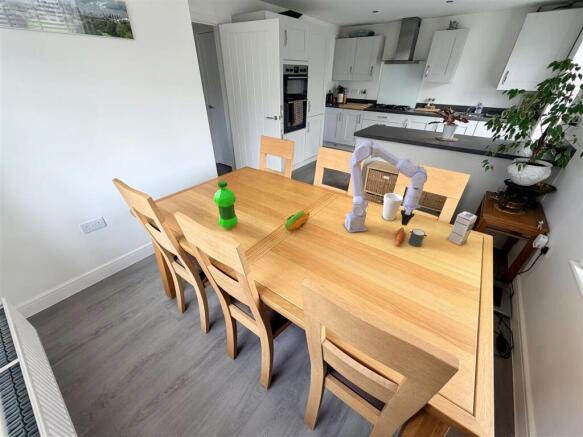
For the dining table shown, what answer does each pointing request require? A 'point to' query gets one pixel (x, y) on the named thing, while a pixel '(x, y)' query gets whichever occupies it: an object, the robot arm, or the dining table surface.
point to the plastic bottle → (226, 206)
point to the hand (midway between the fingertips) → (405, 221)
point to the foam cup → (391, 205)
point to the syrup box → (462, 227)
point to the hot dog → (296, 221)
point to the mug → (416, 237)
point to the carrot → (399, 236)
